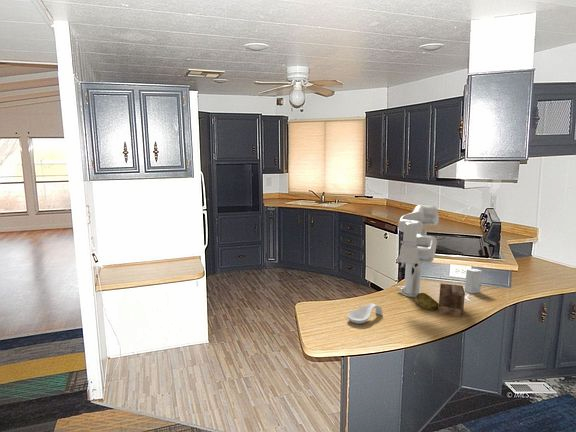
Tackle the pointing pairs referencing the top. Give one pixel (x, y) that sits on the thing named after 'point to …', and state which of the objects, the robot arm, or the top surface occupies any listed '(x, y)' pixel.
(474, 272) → the skincare box
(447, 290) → the cubby
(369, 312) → the spoon rest
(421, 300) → the potato
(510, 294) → the top surface
